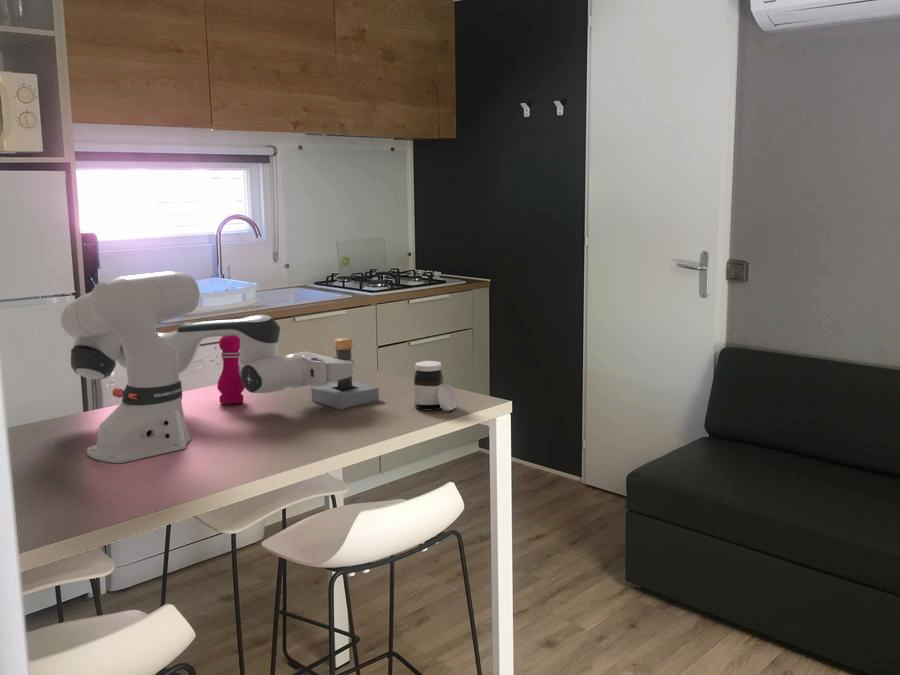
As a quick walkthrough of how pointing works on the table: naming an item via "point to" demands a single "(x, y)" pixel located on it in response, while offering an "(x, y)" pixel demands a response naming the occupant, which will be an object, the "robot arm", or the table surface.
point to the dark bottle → (344, 353)
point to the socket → (345, 395)
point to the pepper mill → (230, 371)
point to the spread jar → (432, 387)
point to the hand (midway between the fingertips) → (346, 360)
